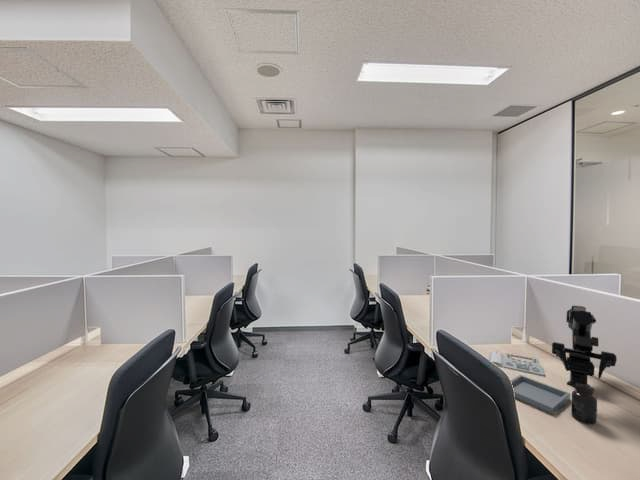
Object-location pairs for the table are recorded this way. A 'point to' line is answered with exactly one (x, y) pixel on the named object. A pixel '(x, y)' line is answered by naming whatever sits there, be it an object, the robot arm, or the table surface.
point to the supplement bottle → (584, 404)
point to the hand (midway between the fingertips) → (582, 374)
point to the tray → (539, 394)
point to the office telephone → (516, 363)
